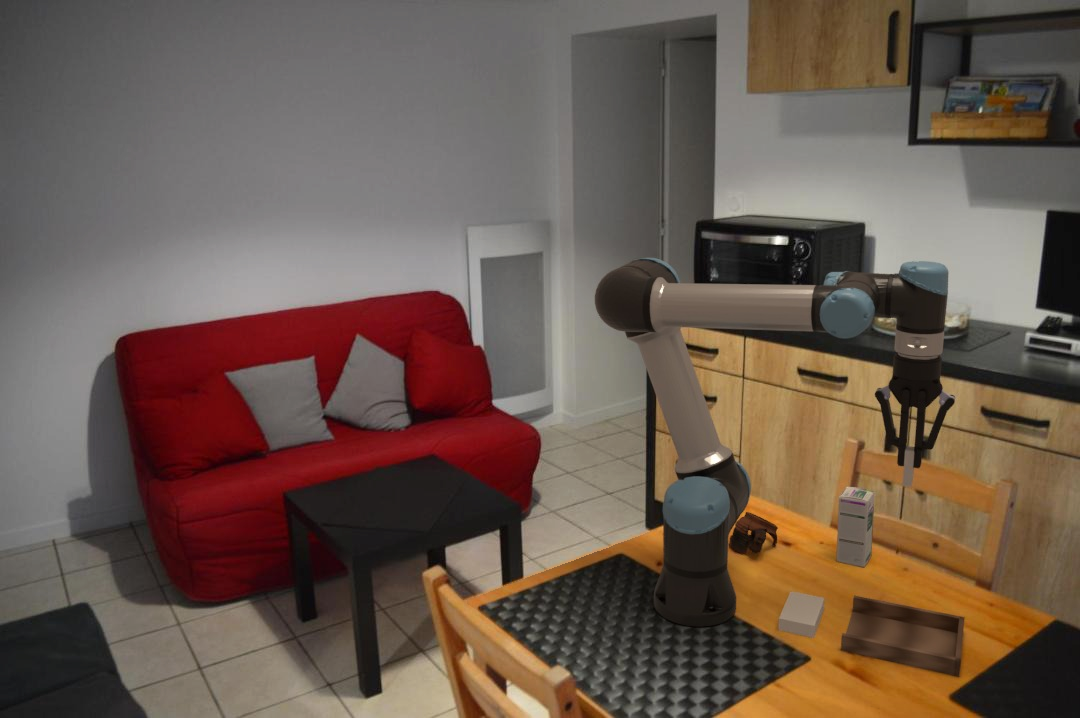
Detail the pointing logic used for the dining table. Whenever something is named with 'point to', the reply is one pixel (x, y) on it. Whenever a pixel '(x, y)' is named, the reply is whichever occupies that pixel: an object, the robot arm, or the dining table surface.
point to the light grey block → (801, 614)
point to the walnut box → (905, 635)
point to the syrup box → (855, 526)
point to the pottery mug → (758, 533)
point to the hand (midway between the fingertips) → (907, 483)
